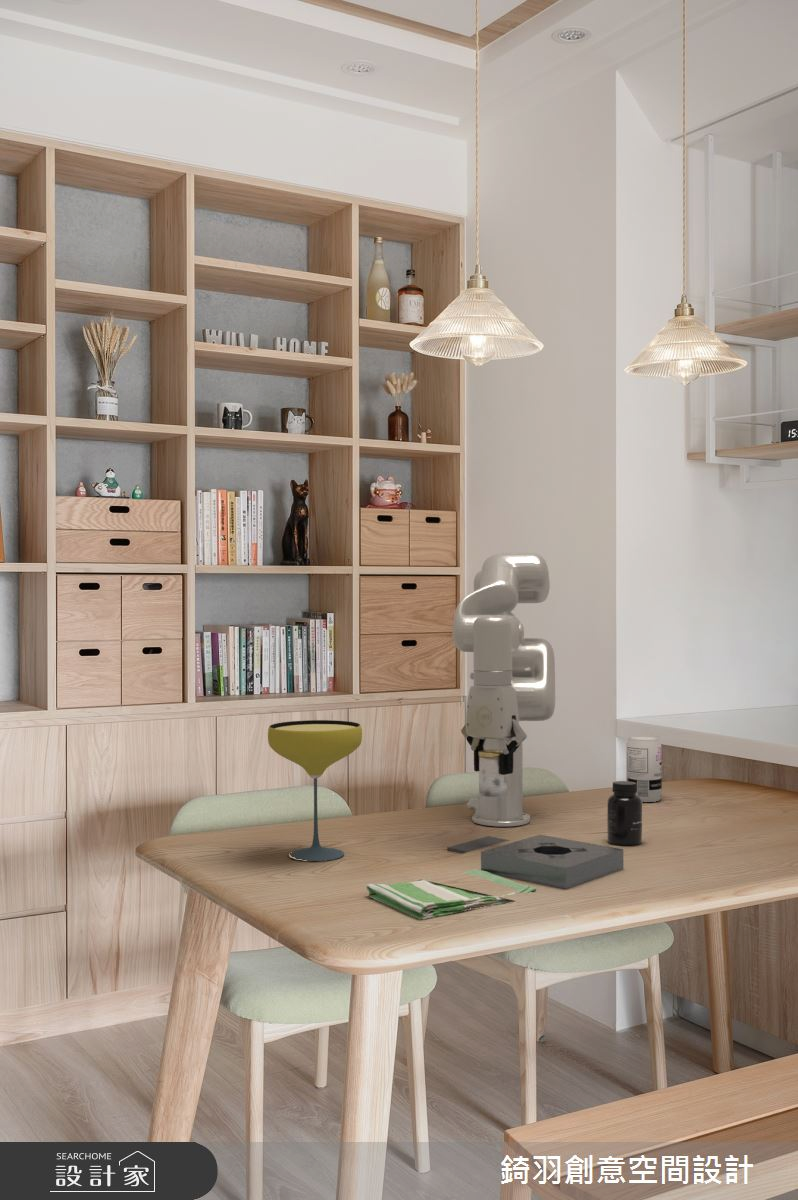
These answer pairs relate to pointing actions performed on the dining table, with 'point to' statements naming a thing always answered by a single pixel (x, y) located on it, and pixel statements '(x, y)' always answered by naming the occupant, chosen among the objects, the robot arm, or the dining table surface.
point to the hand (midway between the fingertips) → (493, 771)
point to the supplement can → (645, 766)
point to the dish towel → (440, 896)
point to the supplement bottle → (624, 815)
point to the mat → (475, 844)
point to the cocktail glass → (315, 761)
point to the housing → (552, 861)
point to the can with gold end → (491, 774)
